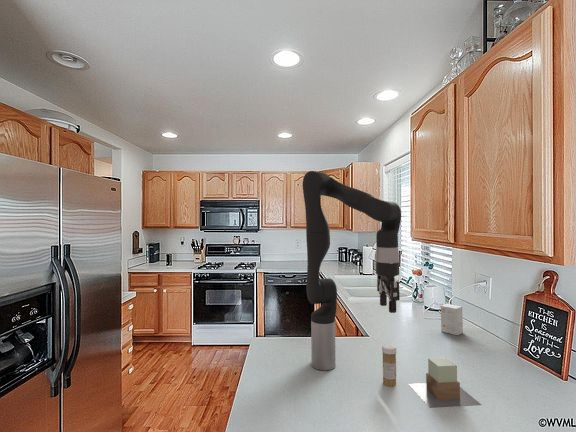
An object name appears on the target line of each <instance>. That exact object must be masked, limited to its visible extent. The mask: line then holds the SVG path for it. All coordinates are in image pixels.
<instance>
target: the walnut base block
mask: <svg viewBox="0 0 576 432" xmlns="http://www.w3.org/2000/svg"><path fill="white" fill-rule="evenodd" d="M425 376H426V377H425V379H426V380H425V381H426V382H425V383H426V389H427V390H428V391H429V392H430V393H431V394H432V395H433V396H434V397H435V398H436V399H437V400H454V399H460V387H461V385H460V384H461V382H460V381H458V380H457V382H445V383H438V382H437V381H436V380H435V379H434V378H433V377H431V376H430V375H429V374H428V372H427V373H425Z"/></svg>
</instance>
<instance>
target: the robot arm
mask: <svg viewBox="0 0 576 432" xmlns="http://www.w3.org/2000/svg"><path fill="white" fill-rule="evenodd" d="M302 193H303V200H304V208H305V209H304V210H305V227H306V229H305V230H306V231H305V233H306V237H305V238H306V253H307V261H306V262H307V263H306V264H307V269H306V271H307V272H306V296H307V300H308V302H309V303H310V304H311V305H318V304H321V305H320V307H319V308H317V309H316V310H313V311H312V312H311V314H310V316H311V317H310V321H311V322H310V324H311V325H310V327H311V328H310V329H311V332H310V334H311V335H310V336H311V341H310V342H311V346H310V347H311V367H312V368H313V369H315V370H318V369H319V370H318V371H330V370H333V369H334V368H336V315H337V305H338V303H337V302H338V288H337V284H336V282H335V281H334V279H332V278H329V277H328V278H320V269H321V265H322V263H323V261H324V259H325V257H326V255H327V254H328V251H329V249H330V247H331V233H330V232H331V230H330V224H329V221H328V220H327V218H326V216H325V213H324V210H323V207H322V204H321V203H322V200H321V197H323V196H324V197H330V198H333V199H336V200H338V201H340V202H341V203H343V204H344V205H345V206H347V207H348V208H351V209H353V210H356V211H358V212H360V213H363V214H365V215H366V216H368V217H369V218H371V219H373V220H375V221H377V222H380V223H381V225H380V229H379V230H377V232H376V234H375V235H376V236H375V237H376V239H375V240H376V241H375V242H376V248H375V274H376V275H377V276H376V278H377V279H376V292H378V294H379V305H380V306H381V307H387V304H388V312H389V313H390V314H395V313H397V301H400V300H401V299H400V282H399V281H398V280H397V281H396V280H395V277H397V276H399V275H400V253H399V231H400V228H401V227H400V225H401V221H402V210H401V208H400V205H399V204H398V203H397V202H395V201H387V200H382V199H379V198H377V197H375V196H374V195H372V194H370V193H368V192H365V191H363V190H360V189H357V188H354V187H351V186H348V185H346V184H343V183H341V182H339V181H337V180H336V179H334V178H333V177H331V176H330V175H328V174H326V173H325V172H319V171H316V170H310V171H308V172H306V173H305V174H304V176H303V179H302ZM387 297H388V298H387ZM387 299H388V300H387Z"/></svg>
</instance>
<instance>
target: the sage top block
mask: <svg viewBox="0 0 576 432" xmlns="http://www.w3.org/2000/svg"><path fill="white" fill-rule="evenodd" d="M427 362H428V363H427V366H428V368H427V369H428V370H427V371H428V372H427V373H428V374H429V375H430V376H431V377H433V378H434V379H435V380H436V381H437V382H438V383H445V382H457V381H458V365H457V364H455V363H454V362H453V361H451V360H450V359H448V358H447V357H428V359H427Z"/></svg>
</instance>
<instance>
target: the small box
mask: <svg viewBox="0 0 576 432" xmlns="http://www.w3.org/2000/svg"><path fill="white" fill-rule="evenodd" d="M463 320H464V318H463V306H461V305H455V304H449V303H446V304H445V303H444V304H443V305H440V327H441V330H440V331H441V333H442V332H443V333H445V334H451V335H453V336H454V335H455V336H459V335H461V334H463V333H464V322H463Z"/></svg>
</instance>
